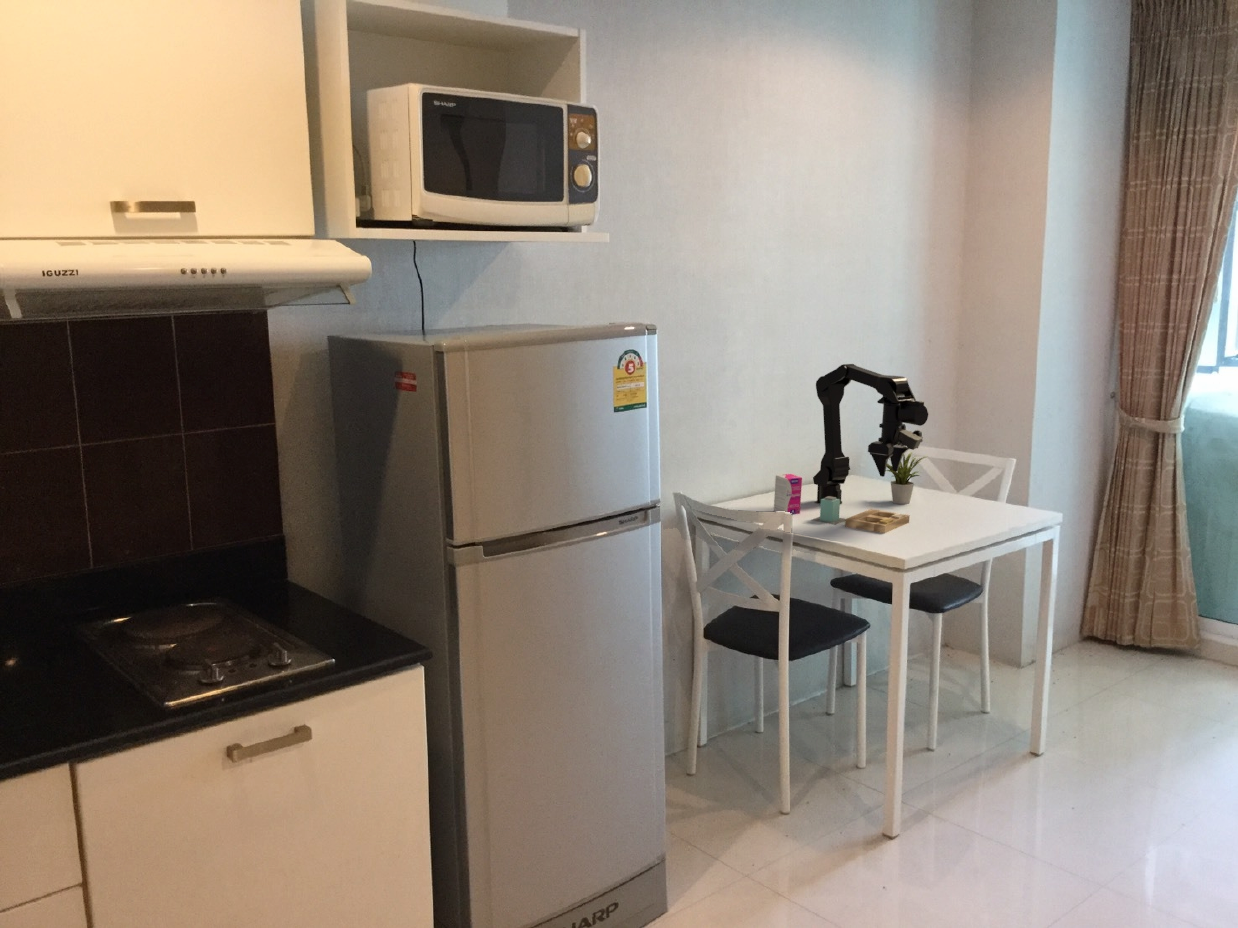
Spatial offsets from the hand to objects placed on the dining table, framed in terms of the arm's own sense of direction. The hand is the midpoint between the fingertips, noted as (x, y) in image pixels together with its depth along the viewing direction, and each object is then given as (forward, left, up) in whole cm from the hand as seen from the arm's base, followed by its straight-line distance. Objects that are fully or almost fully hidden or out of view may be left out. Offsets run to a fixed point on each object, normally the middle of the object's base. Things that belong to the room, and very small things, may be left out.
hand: (888, 473), depth 310 cm
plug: (-11, -13, -13) cm, 22 cm away
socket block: (+2, -9, -13) cm, 16 cm away
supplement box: (-25, -13, -14) cm, 32 cm away
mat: (-11, -13, -13) cm, 22 cm away
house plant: (-5, +25, -14) cm, 29 cm away
